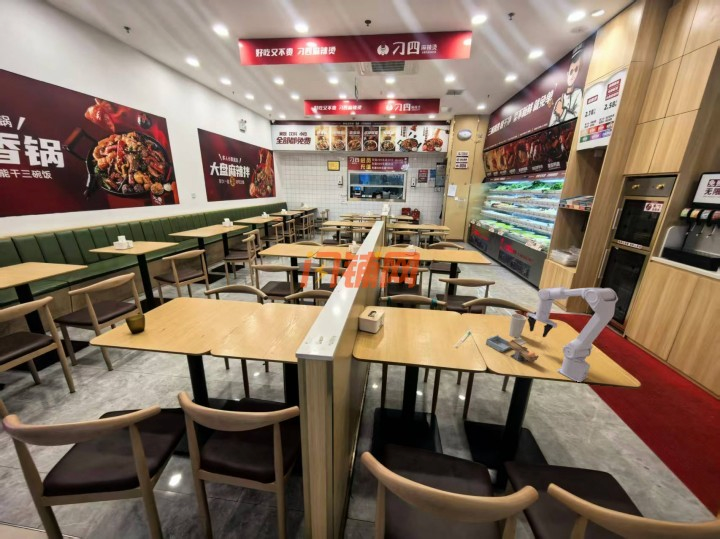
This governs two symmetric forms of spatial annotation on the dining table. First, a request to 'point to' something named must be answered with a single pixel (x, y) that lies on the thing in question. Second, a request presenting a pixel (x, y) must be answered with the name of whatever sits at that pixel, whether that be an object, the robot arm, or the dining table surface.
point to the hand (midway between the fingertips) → (537, 333)
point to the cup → (516, 325)
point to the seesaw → (521, 348)
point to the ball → (531, 354)
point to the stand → (518, 356)
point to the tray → (498, 343)
